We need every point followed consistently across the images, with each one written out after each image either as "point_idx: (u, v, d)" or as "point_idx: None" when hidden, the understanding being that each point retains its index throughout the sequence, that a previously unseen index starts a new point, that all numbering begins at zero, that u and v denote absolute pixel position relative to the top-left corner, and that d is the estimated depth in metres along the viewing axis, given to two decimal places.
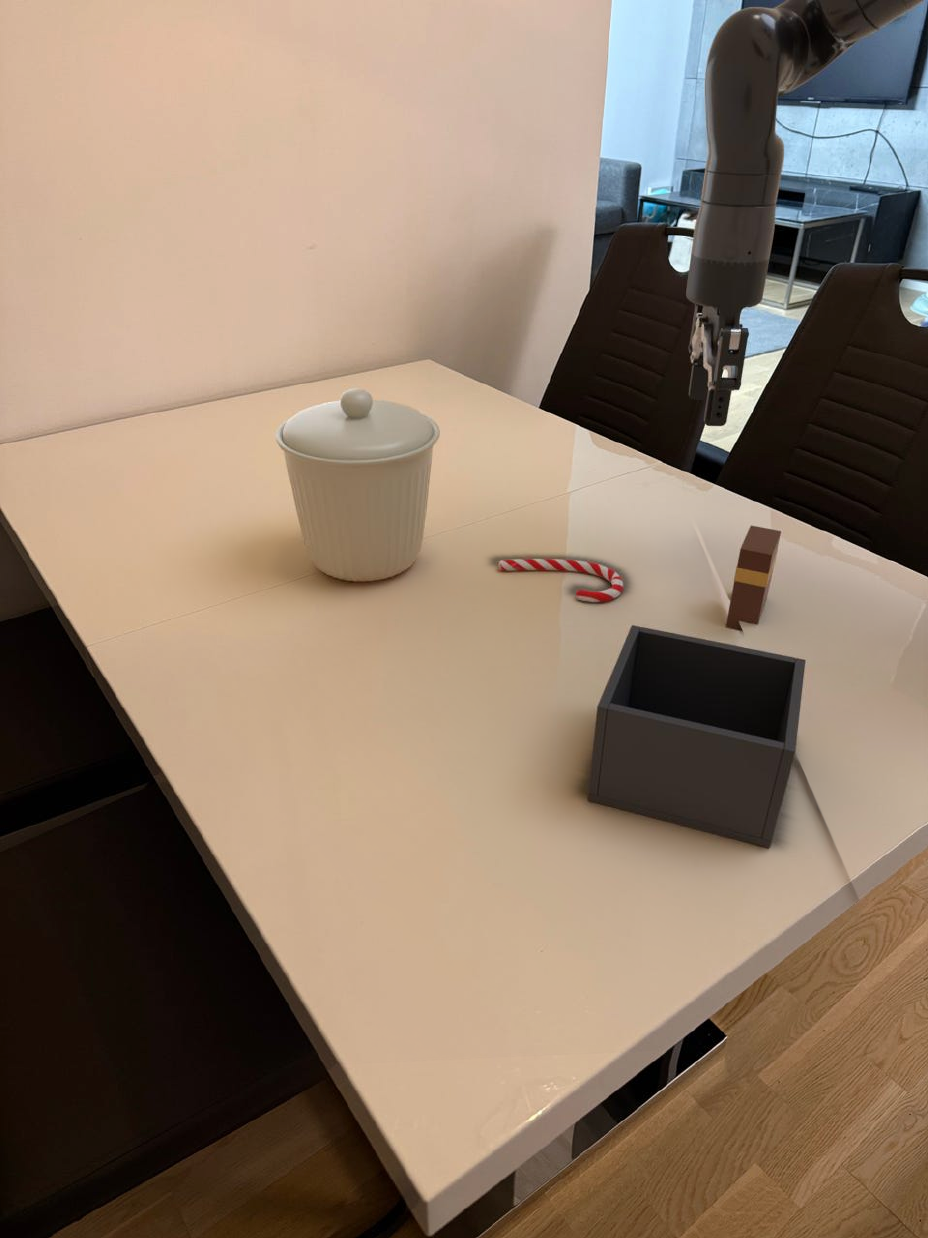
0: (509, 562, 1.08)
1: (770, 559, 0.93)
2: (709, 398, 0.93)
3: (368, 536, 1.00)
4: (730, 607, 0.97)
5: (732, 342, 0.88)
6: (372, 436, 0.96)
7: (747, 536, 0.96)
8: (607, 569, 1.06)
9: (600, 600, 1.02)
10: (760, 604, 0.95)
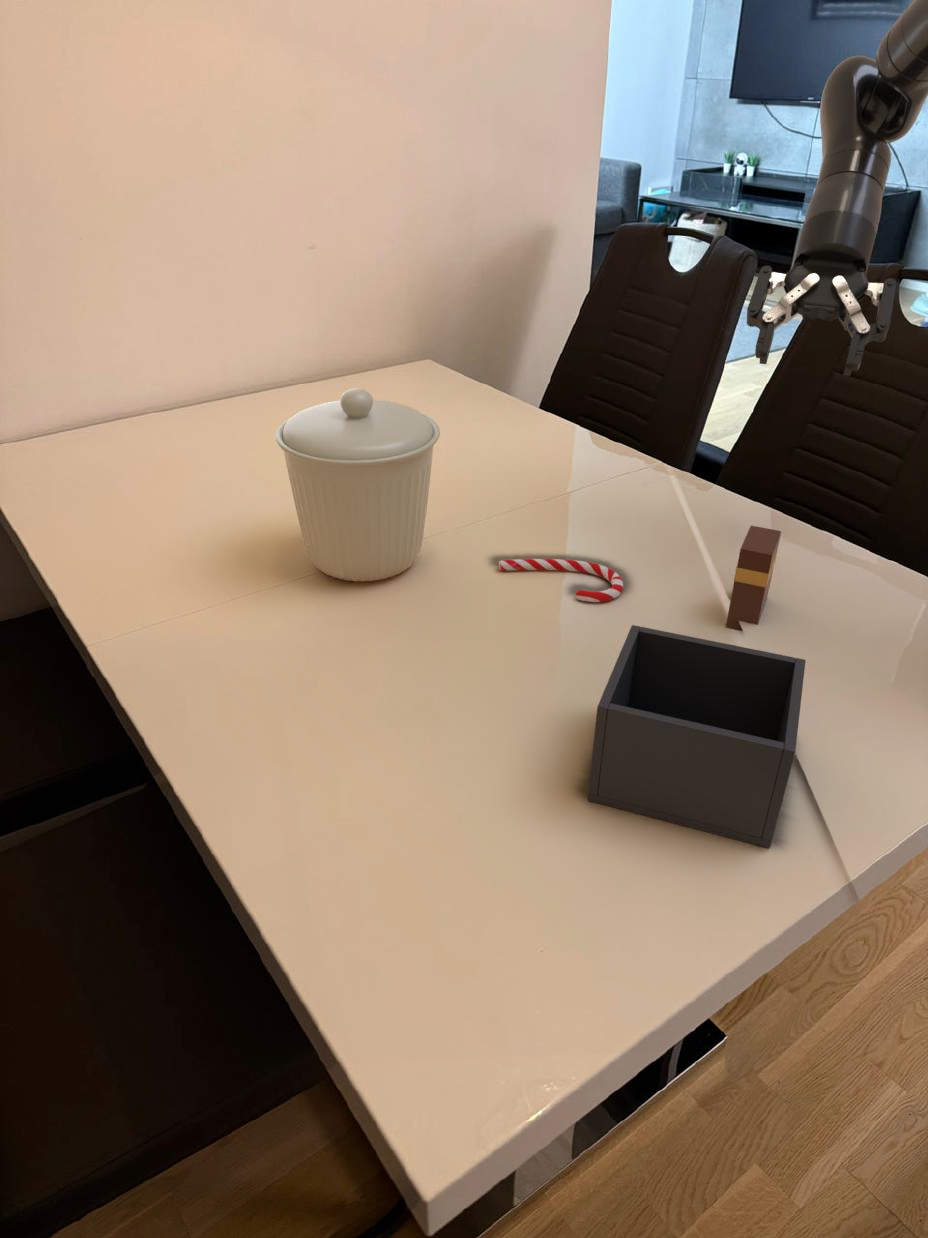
0: (509, 562, 1.08)
1: (770, 559, 0.93)
2: None
3: (368, 536, 1.00)
4: (730, 607, 0.97)
5: None
6: (372, 436, 0.96)
7: (747, 536, 0.96)
8: (607, 569, 1.06)
9: (600, 600, 1.02)
10: (760, 604, 0.95)
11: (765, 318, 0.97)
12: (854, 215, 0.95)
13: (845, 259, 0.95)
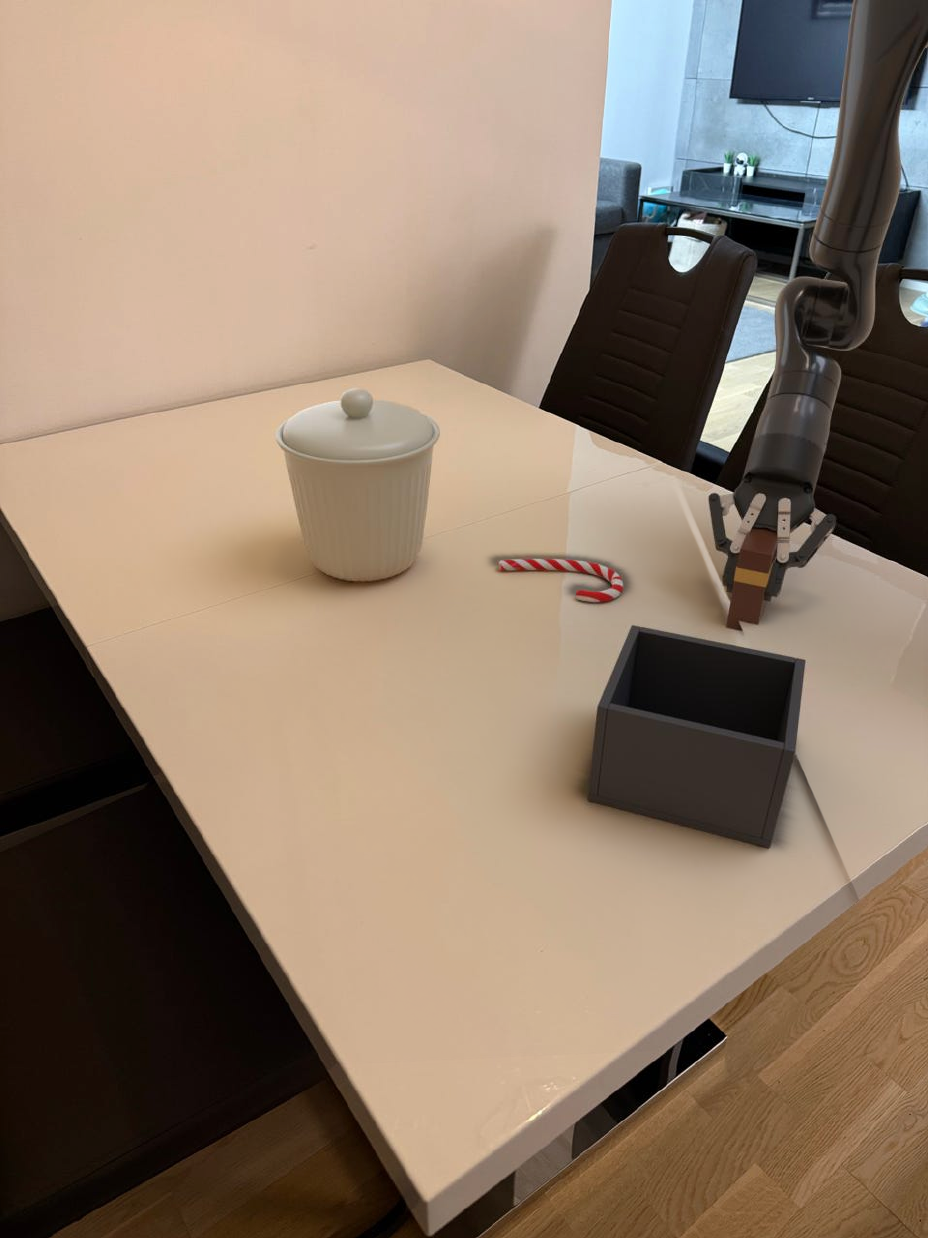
0: (509, 562, 1.08)
1: (770, 559, 0.93)
2: None
3: (368, 536, 1.00)
4: (730, 607, 0.97)
5: None
6: (372, 436, 0.96)
7: (747, 536, 0.96)
8: (607, 569, 1.06)
9: (600, 600, 1.02)
10: (760, 604, 0.95)
11: (732, 549, 0.97)
12: (799, 439, 0.96)
13: (791, 481, 0.96)
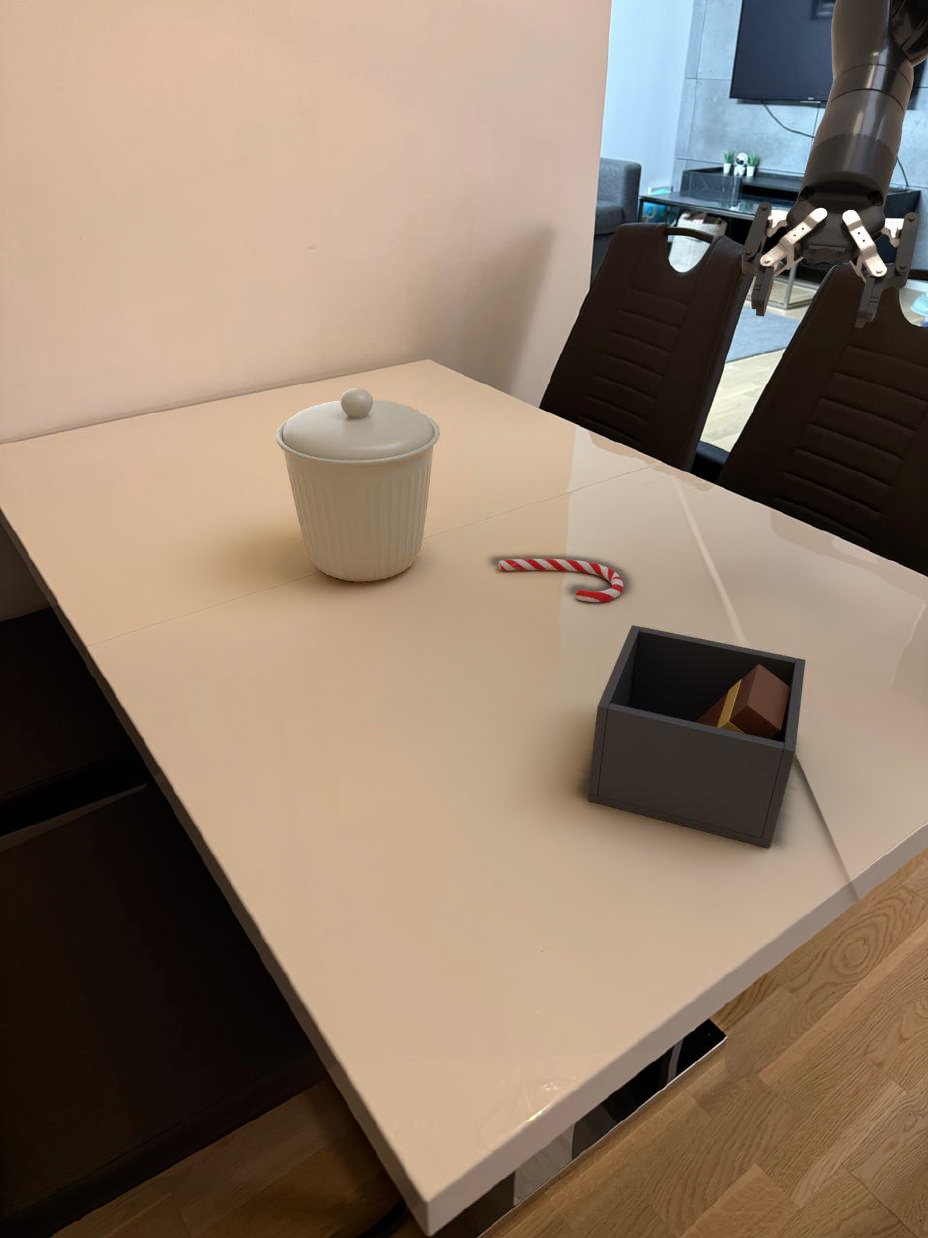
0: (509, 562, 1.08)
1: (775, 733, 0.69)
2: None
3: (368, 536, 1.00)
4: None
5: None
6: (372, 436, 0.96)
7: (755, 684, 0.72)
8: (607, 569, 1.06)
9: (600, 600, 1.02)
10: None
11: (762, 262, 0.82)
12: (868, 138, 0.80)
13: (857, 191, 0.81)
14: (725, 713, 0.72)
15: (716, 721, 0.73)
